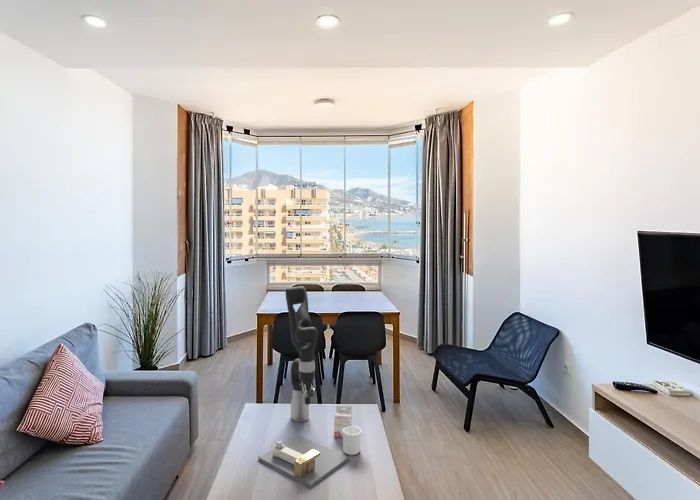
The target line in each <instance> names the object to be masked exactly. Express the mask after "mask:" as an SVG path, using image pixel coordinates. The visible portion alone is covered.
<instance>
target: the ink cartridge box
mask: <svg viewBox="0 0 700 500" xmlns="http://www.w3.org/2000/svg"><path fill="white" fill-rule="evenodd" d="M352 409H353V408H352V406H345V405H336V408H335V410H336V411H335V414H334V423H333V425H334V429H333V431H334V432H333V437H334V438H341V439H343V438H342V437H343V429H344V428H345V427H347V426H352V415H353V413H352Z"/></svg>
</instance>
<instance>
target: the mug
mask: <svg viewBox="0 0 700 500" xmlns="http://www.w3.org/2000/svg"><path fill="white" fill-rule="evenodd" d="M361 438H362V429H361V428H360V427H359V426H356V425H351V426H347V427H345V428H344V429H343V438H342V444H343V445H342V447H343V451H342V452H343V453H344V455H346V454H347V455H346V456H349V455H355V456H357V455H356V454H358V453H359V452H360V453H361ZM360 453H359V454H360ZM359 454H358V455H359Z"/></svg>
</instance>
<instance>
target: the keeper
mask: <svg viewBox="0 0 700 500" xmlns="http://www.w3.org/2000/svg"><path fill="white" fill-rule="evenodd" d="M318 456H320V452H318V451H316V450H314V449H312V450H311V451H309V452H308V453H306V454H304V455H303V456H301V457H300V458H298V459H296V460H295V476H297V477H299V478H301V479H302V478H304V477H305V476H306V464H308V463H309V462H311V461H312V460H314V459H315V458H317V457H318Z"/></svg>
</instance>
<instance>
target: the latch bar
mask: <svg viewBox="0 0 700 500" xmlns="http://www.w3.org/2000/svg"><path fill="white" fill-rule="evenodd" d="M272 449H273V456H274V457H279V458H281V459H283V460H285V461H287V462H289V463H291V464H293V465H295V460H296V459H298V458H300V457H301V456H303V454H301V453H299V452H297V451H295V450H292V449H290V448H288V447H286V446H285V445H284V444H283V441H282V440H277V441H276V442H275V444H274V445H273V446H272ZM314 468H315V459H314V460H312V461H311V462H309V463H308V464H306V471H308V472H309V471H311V470H312V469H314Z"/></svg>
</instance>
